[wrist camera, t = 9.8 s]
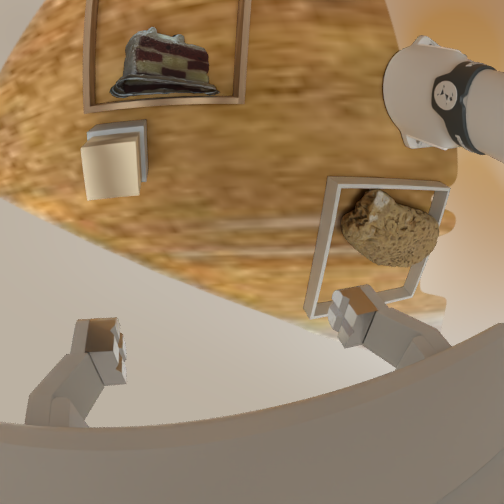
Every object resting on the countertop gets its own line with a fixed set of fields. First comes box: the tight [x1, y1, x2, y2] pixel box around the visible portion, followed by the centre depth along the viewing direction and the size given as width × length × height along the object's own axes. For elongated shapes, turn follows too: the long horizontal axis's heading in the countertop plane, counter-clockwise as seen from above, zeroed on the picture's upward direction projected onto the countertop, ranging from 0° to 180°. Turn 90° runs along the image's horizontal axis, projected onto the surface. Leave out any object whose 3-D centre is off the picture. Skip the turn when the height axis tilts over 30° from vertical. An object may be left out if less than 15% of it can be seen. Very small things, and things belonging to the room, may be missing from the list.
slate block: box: [87, 119, 148, 182], centre depth 31 cm, size 6×6×5 cm
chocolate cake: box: [109, 27, 220, 98], centre depth 28 cm, size 10×7×12 cm
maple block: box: [81, 131, 142, 201], centre depth 27 cm, size 5×5×5 cm
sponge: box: [341, 188, 439, 267], centre depth 48 cm, size 13×8×20 cm
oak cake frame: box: [83, 0, 251, 114], centre depth 26 cm, size 17×17×3 cm
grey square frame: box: [303, 176, 450, 319], centre depth 51 cm, size 24×24×3 cm
